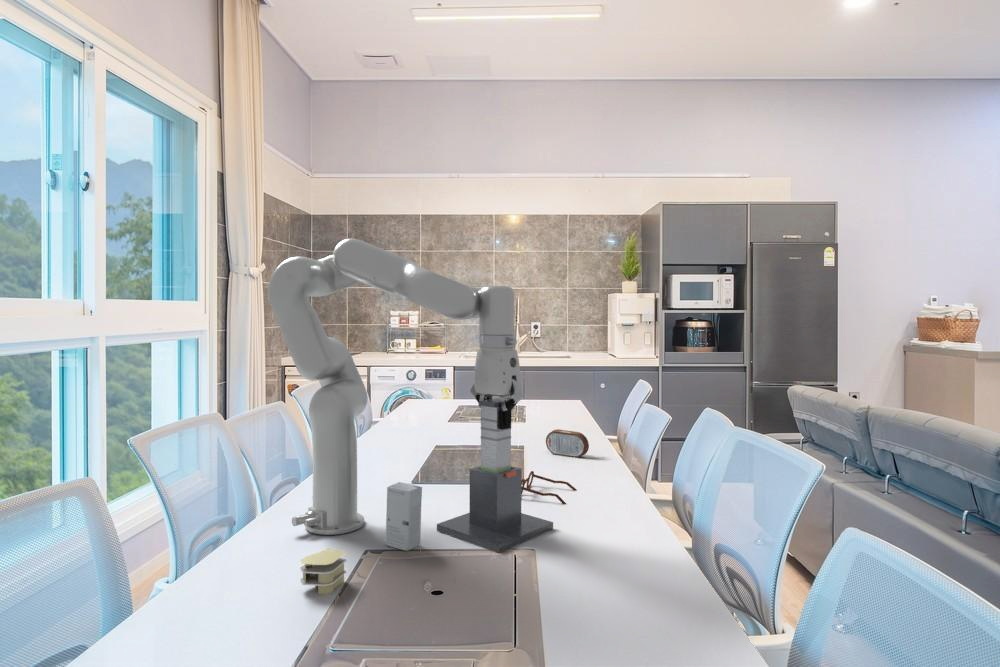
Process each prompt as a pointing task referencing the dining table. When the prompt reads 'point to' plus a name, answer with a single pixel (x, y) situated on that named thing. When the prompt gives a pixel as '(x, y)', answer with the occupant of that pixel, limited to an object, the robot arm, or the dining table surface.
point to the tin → (567, 443)
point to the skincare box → (403, 516)
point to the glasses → (540, 492)
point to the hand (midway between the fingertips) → (495, 426)
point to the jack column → (494, 438)
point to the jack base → (495, 513)
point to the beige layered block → (324, 570)
